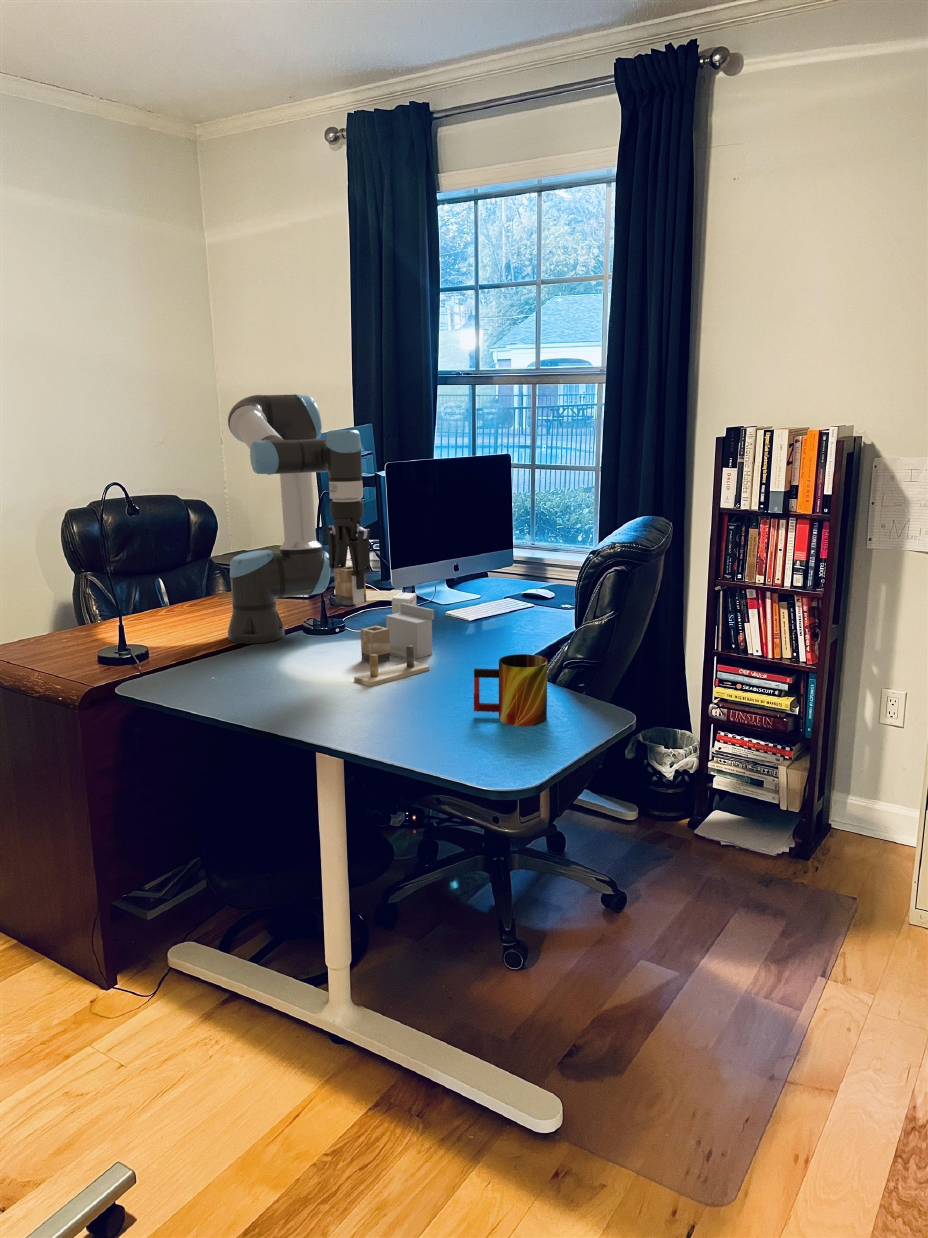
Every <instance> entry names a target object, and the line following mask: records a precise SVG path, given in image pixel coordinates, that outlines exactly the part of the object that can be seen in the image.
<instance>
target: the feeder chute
mask: <svg viewBox="0 0 928 1238" xmlns="http://www.w3.org/2000/svg"><path fill="white" fill-rule="evenodd" d="M400 606H401V612H400V613H396V614H386V615H385V628H388V629H389V637H390V656H392V657H396V658H399V659H403V660H405V661H406V646H408V645H413V646H414V660H415V659H420V658H423V657H426V656H431V655H433V620H435V609H431V608H427V607H424V606H423V607H422V606H418V605H416V606H414V605H410V604H405V603H400Z"/></svg>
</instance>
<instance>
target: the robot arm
mask: <svg viewBox="0 0 928 1238" xmlns="http://www.w3.org/2000/svg"><path fill="white" fill-rule="evenodd" d="M319 410H320V409H319V407H318V404H317V403H316V401H315V399H314V398H313V397H312V396H310V395H306V394H295V393H294V394H254V395H249V396H247V397H244V398H242V399H241V400H239V401H238V402H236V404H234V405H233V406H232V408H231V409H230V411H229V413H228V417H227V426H228V430H229V431H230V433H231V435H232V436H233V437H234V438H236V440H238V441H239V442H240V443H244V444H245V445H246V446H247V447H248V449H249V459H250V465H251V468H252V470H253V472H254V473H255V474H257V475H269V476H271V475H279V480H280V481H279V483H280V495H281V507H282V508H281V510H282V511H281V512H282V522H283V523H282V524H283V537H284V542H283V543H282V544H281V545H280V547H279V554H276V555H275V554H274V553H273V551H272V550H271V549H263V550H262V549H261V550H253V551H248V552H243V553H240V554H237V555H235V556H234V557H232V558H231V560H230V562H229V578H230V588H231V590H230V591H231V601H232V602H231V604H232V614H231V617H230V622H229V625H228V630H227V639H228V640H229V641H230V642H233V643H236V644H237V643H238V644H245V645H246V644H251V645H252V644H265V643H271V642H274V641H278V640H281V639H283V638H284V637H285V627H284V626H285V625H284V624H283V621H282V619H281V616H280V614H279V612H278V609H277V598H279V599H280V598H287V597H300V596H309V597H310V596H312V595H318V594H322V593H324V592H325V591H326V590H327V588H328V585H329V582H330V579H331V578H330V577H331V571H332V570H331V569H333V570H334V568H340V567H347V558H348V552H349V556H350V559H351V564H352V565H351V566H353V571H354V573H353V574H351V575H352V596H353V604H354V605H358V603H359V604H363V602H364V574H365V575H366V574H367V573H371V556H370V555H371V554H370V535H371V530H370V528H363V526H362V525H363V524H362V522H361V518H363V517H364V515H365V512H364V502H363V500H362V498H363V497H364V488H363V487H364V485H363V470H362V469H363V468H362V465H363V464H362V463H363V461H362V447H363V446H362V441H361V434H360V432H359V431H358V430H356V429H354V430H353V429H352V430H351V429H349V430H348V429H347V430H346V429H341V430H338V429H337V430H336V429H335V430H329V431H327V433H326V438H320V437H321V436H322V429H323V428H322V426H323V425H322V418H321V414H320V411H319ZM313 473H328V488H329V490H328V491H329V492H328V493H329V499H330V500H331V501H330V502H329V515H330V517H331V518H332V519H334V521H333V525H328V526H326V527H325V529H326V530H325V531H326V534H327V540H328V541H327V543H328V552H327V551H324V550H323V545H322V544H321V543H320V542H319V541H318V540H317V534H316V533H317V531H316V519H315V517H316V516H315V504H314V501H315V500H314V488H313V487H314V486H313ZM358 568H359V569H358Z"/></svg>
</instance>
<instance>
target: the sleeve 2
mask: <svg viewBox="0 0 928 1238" xmlns="http://www.w3.org/2000/svg"><path fill="white" fill-rule="evenodd" d="M360 649H361V652H360V653H361V661H362V662H366V663H369V664H370V655H371V654H376V655H378V664H381V663H384V662H389V661H391V655H390V637H389V629H388V628H386V627H384V626H380V625H373V626H369V627H364V628H360Z"/></svg>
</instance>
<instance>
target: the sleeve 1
mask: <svg viewBox="0 0 928 1238" xmlns="http://www.w3.org/2000/svg"><path fill="white" fill-rule="evenodd" d="M358 569H359V568H358ZM333 572H334V575H333V576H334V592H335V593H334V594H335V596H334V597H335V603H337V604H342V605H343V606H344V605H345V606H352V605H355V604H353V596H352V575H351V574H353V573H354V571H353V566H352V565H346V567H340V568H334V569H333ZM363 603H367V588H366V573H365V574H364V602H363ZM363 603H362V604H363ZM358 604H359V605H360V603H358ZM358 604H357V605H358Z"/></svg>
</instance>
